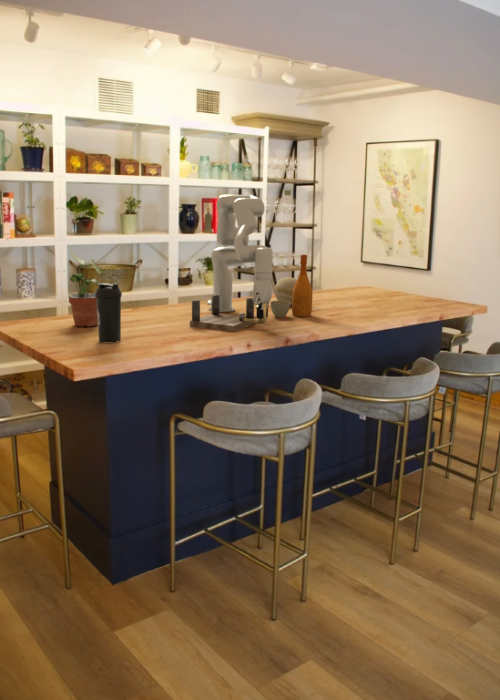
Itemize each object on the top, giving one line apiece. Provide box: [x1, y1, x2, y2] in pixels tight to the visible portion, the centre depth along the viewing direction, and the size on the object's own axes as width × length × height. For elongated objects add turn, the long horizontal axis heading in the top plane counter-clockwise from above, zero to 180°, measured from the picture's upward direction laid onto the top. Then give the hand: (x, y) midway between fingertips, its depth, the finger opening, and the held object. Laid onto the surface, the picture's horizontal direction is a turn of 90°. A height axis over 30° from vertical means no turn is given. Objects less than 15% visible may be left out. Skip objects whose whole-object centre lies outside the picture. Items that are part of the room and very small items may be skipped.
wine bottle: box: [291, 253, 313, 318], centre depth 318 cm, size 10×10×30 cm
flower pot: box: [269, 300, 292, 318], centre depth 317 cm, size 10×10×7 cm
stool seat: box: [189, 294, 257, 333], centre depth 295 cm, size 22×22×12 cm
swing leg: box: [238, 302, 267, 324], centre depth 289 cm, size 13×4×9 cm, turn 63°
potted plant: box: [68, 252, 106, 328], centre depth 285 cm, size 16×15×35 cm
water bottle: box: [94, 282, 122, 343], centre depth 258 cm, size 10×10×23 cm
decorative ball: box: [273, 276, 297, 306], centre depth 349 cm, size 15×15×15 cm
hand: (262, 317), depth 287 cm, fingers closed on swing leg, 3 cm apart
